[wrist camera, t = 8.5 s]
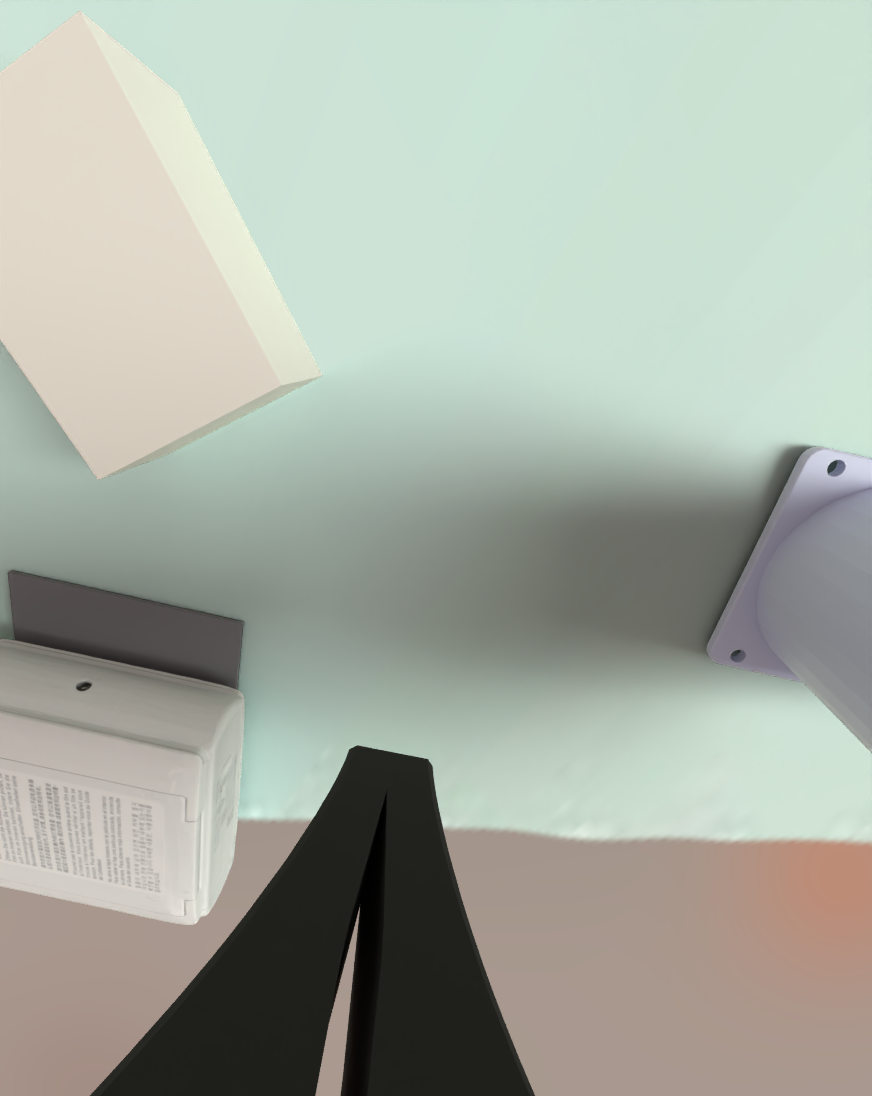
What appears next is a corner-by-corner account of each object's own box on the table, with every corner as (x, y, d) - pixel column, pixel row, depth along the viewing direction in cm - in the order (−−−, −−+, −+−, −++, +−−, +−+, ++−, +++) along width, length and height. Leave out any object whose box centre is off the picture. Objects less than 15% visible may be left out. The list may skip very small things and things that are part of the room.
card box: (182, 96, 14) (79, 10, 11) (324, 375, 17) (281, 385, 13) (21, 207, 16) (-121, 165, 12) (175, 451, 18) (98, 480, 14)
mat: (243, 621, 20) (241, 624, 20) (222, 865, 25) (220, 869, 25) (12, 570, 20) (7, 572, 20) (39, 827, 25) (35, 830, 25)
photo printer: (256, 671, 20) (-52, 609, 20) (203, 752, 16) (-180, 675, 16) (245, 848, 24) (-12, 795, 24) (200, 947, 20) (-107, 885, 20)
